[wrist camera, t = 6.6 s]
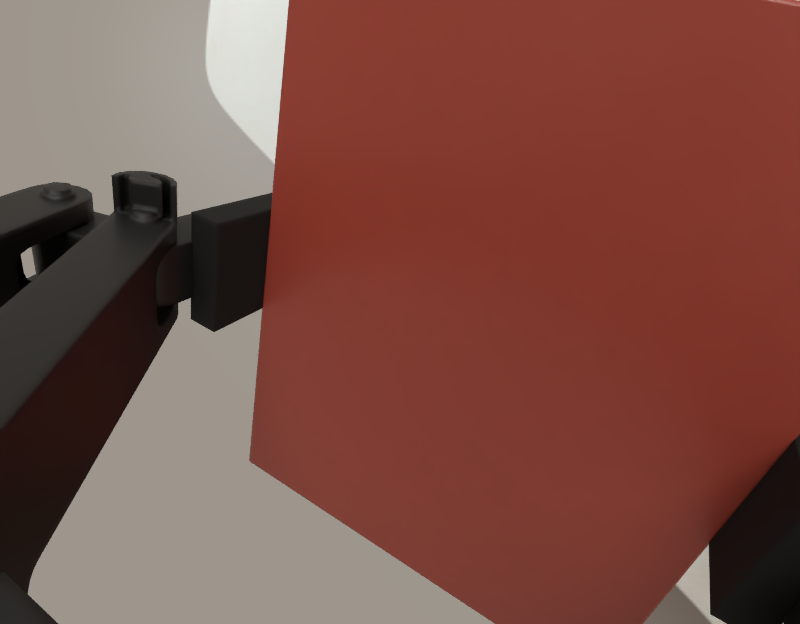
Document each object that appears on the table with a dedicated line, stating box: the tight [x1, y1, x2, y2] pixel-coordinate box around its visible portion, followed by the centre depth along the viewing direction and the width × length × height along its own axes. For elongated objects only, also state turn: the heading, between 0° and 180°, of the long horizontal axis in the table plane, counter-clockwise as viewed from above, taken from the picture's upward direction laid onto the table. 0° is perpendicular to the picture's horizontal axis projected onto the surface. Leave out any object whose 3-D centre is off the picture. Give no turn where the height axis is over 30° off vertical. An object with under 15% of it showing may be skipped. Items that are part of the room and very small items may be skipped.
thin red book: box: [249, 0, 800, 624], centre depth 11 cm, size 14×11×2 cm
